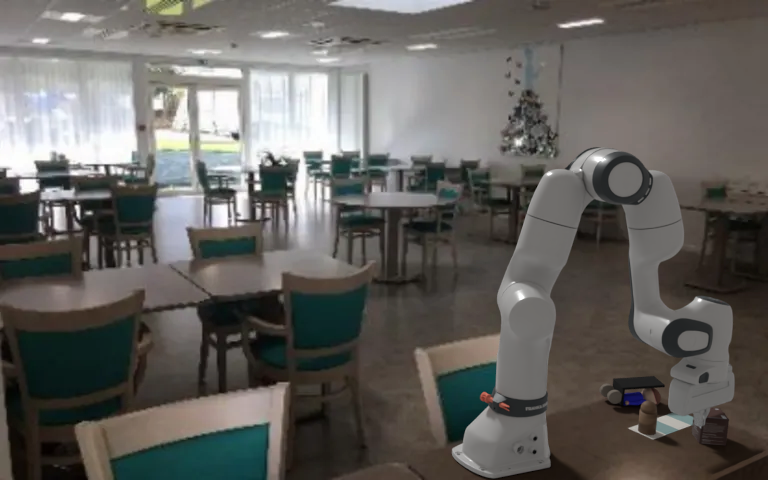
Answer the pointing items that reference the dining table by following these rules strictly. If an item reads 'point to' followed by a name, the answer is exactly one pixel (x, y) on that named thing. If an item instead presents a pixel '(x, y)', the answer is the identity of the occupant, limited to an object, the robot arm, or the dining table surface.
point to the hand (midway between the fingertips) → (699, 425)
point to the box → (712, 428)
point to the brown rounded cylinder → (647, 418)
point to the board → (668, 425)
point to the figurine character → (621, 384)
